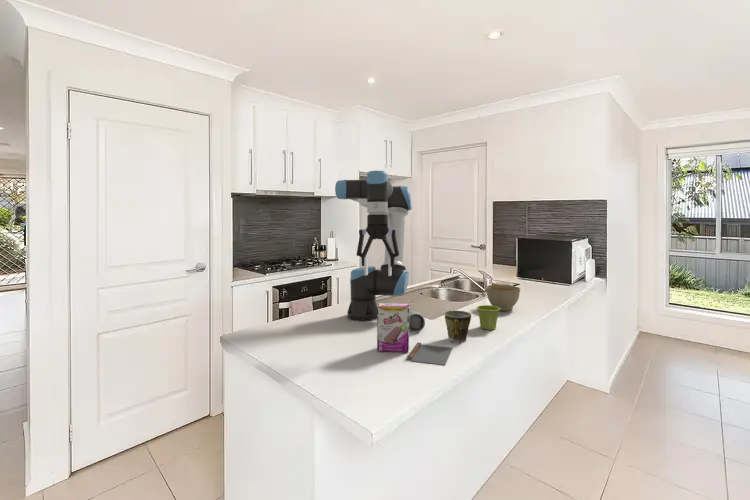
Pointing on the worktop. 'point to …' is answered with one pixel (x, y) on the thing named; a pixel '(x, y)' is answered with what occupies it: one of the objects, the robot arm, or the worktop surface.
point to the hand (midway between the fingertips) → (378, 275)
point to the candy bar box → (392, 327)
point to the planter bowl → (503, 296)
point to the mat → (432, 354)
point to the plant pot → (488, 316)
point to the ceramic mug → (416, 321)
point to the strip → (414, 351)
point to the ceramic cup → (457, 325)
